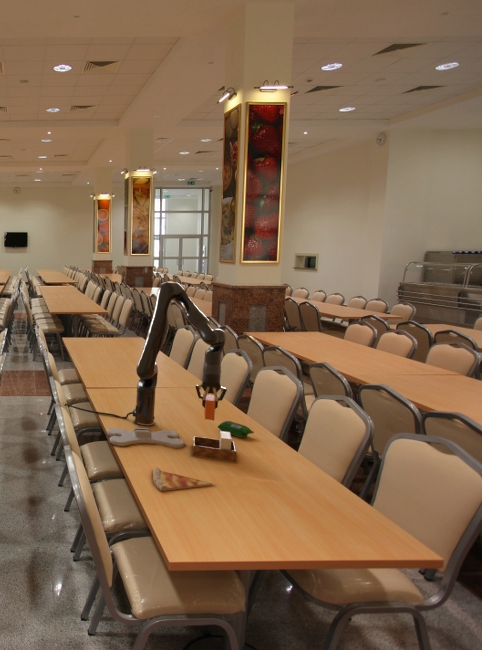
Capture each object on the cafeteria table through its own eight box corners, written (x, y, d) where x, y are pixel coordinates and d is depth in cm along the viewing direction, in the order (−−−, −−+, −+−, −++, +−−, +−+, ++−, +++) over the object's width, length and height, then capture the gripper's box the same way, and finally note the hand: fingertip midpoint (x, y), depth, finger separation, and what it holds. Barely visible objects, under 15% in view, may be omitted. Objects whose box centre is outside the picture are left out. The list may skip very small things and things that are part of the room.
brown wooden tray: (192, 456, 222) (193, 445, 221) (192, 446, 233) (193, 435, 232) (235, 462, 216) (236, 451, 215) (233, 451, 227) (233, 441, 227)
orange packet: (204, 419, 232) (205, 400, 231) (204, 413, 240) (205, 394, 239) (214, 420, 231) (215, 401, 229) (213, 414, 239) (214, 395, 238)
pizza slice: (204, 502, 182) (205, 497, 181) (143, 486, 193) (143, 481, 193) (212, 485, 195) (212, 480, 195) (154, 471, 206) (154, 466, 206)
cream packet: (219, 457, 219) (221, 438, 218) (218, 450, 228) (220, 430, 227) (230, 459, 218) (231, 439, 217) (228, 451, 226) (229, 432, 225)
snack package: (246, 441, 240) (247, 430, 240) (215, 430, 253) (216, 420, 252) (254, 438, 244) (255, 427, 244) (223, 428, 257) (224, 418, 256)
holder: (105, 431, 251) (106, 421, 250) (175, 433, 248) (176, 423, 248) (111, 446, 232) (111, 435, 231) (186, 449, 230) (187, 438, 229)
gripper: (228, 371, 234) (225, 407, 236) (195, 368, 239) (193, 403, 241) (229, 375, 227) (226, 412, 229) (195, 372, 232) (193, 408, 234)
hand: (209, 407), depth 235 cm, fingers closed on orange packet, 4 cm apart
